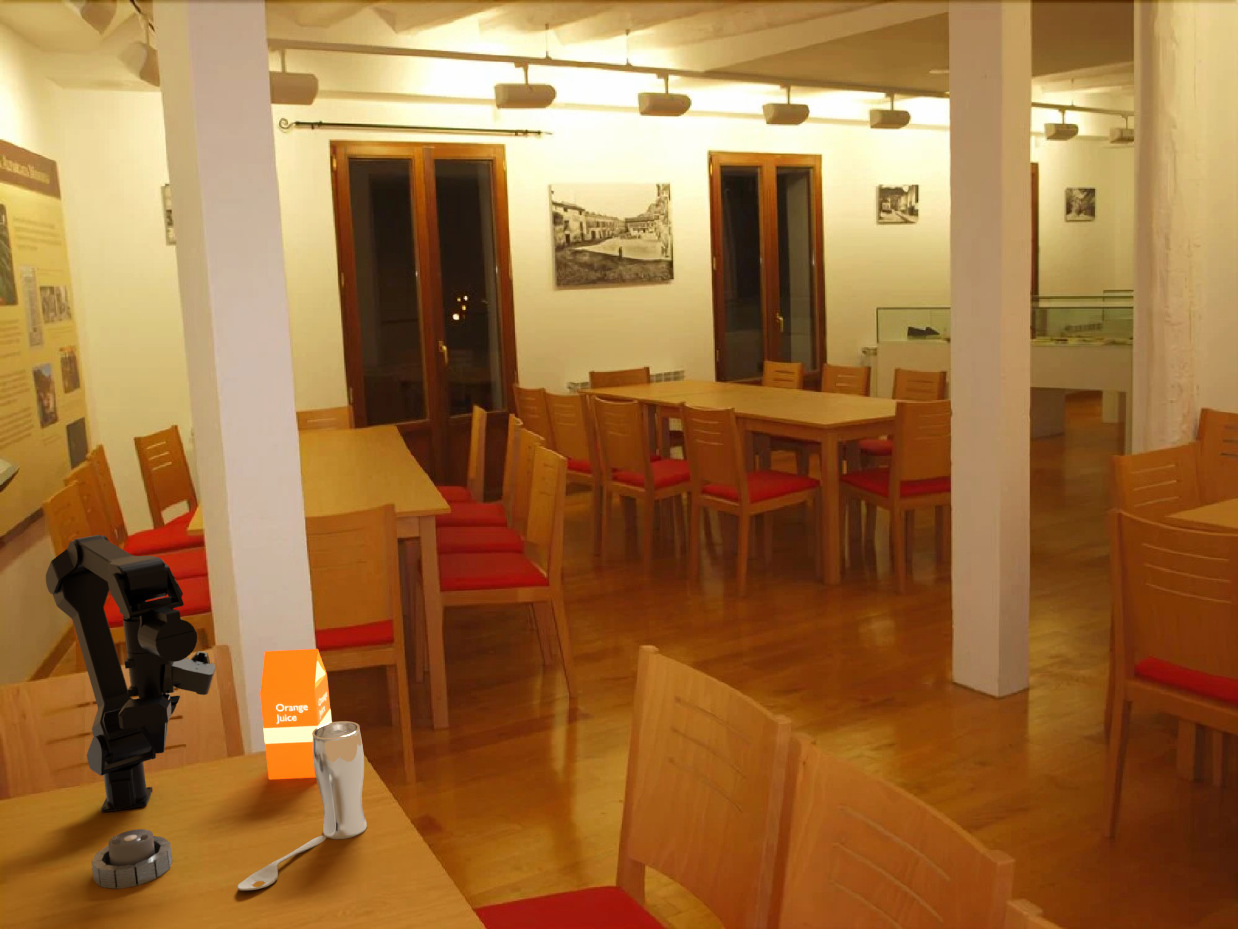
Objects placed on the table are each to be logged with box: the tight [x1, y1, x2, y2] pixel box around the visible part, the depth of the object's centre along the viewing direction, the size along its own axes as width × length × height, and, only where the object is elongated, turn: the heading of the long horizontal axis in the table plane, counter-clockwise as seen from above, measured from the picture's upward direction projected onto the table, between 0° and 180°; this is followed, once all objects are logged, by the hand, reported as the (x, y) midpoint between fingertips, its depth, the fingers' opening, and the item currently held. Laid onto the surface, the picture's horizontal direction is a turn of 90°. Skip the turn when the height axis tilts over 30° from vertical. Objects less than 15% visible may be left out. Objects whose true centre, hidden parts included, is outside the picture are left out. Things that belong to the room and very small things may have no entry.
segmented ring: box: [91, 835, 173, 890], centre depth 156 cm, size 10×10×2 cm
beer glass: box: [312, 720, 368, 840], centre depth 164 cm, size 7×7×15 cm
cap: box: [107, 828, 155, 866], centre depth 156 cm, size 6×6×5 cm
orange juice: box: [259, 648, 333, 780], centre depth 187 cm, size 8×9×20 cm
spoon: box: [236, 834, 327, 891], centre depth 157 cm, size 4×21×2 cm, turn 158°
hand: (160, 752), depth 166 cm, fingers closed
